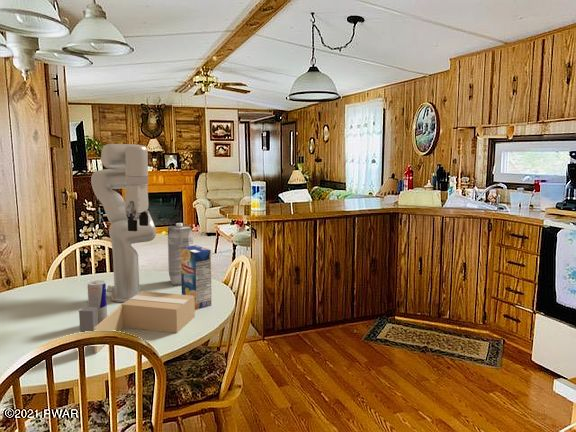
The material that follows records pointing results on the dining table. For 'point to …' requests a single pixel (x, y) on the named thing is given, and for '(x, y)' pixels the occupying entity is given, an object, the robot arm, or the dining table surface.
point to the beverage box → (196, 274)
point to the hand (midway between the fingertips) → (138, 228)
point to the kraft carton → (158, 311)
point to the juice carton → (177, 249)
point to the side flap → (111, 322)
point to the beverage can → (98, 298)
